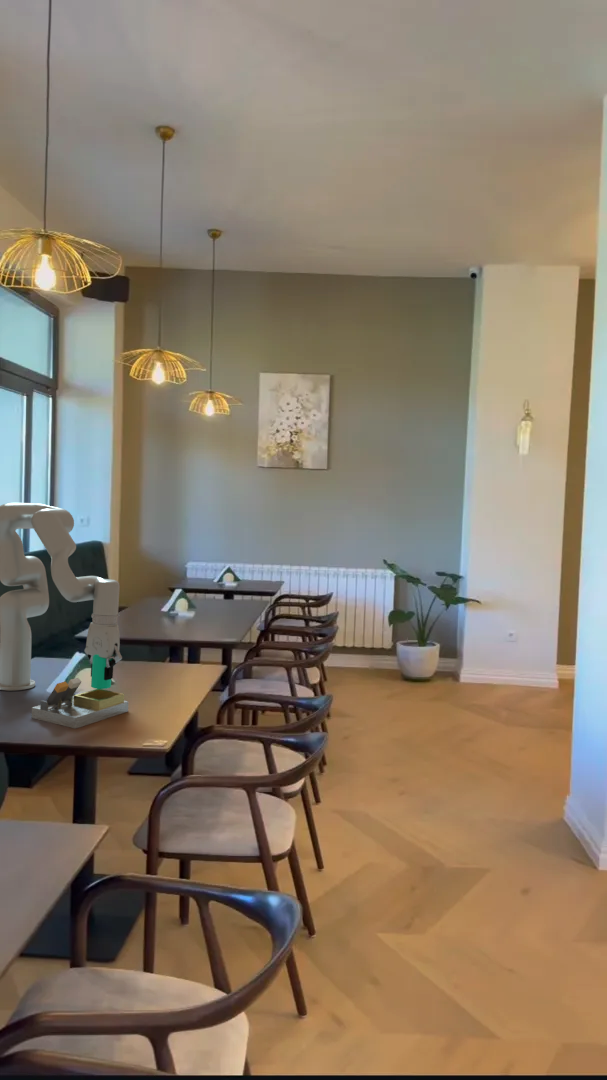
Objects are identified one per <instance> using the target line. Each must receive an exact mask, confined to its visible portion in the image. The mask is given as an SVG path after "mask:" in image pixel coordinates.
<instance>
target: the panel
mask: <svg viewBox="0 0 607 1080" xmlns="http://www.w3.org/2000/svg"><path fill="white" fill-rule="evenodd" d="M39 703H40V704H38V705H36V706H32V707H31V718H32V719H34V720H35V719H36V720H39V721H43V722H46V723H51V724H56V725H59V726H64V727H67V728H71V729H74V730H75V729H78V728H82V727H84V726H87V725H90V724H91V725H92V724H93V723H94V724H95V723H96V722H97V723H98V722H100V721H103V720H106V719H108V718H112V717H115V716H118V715H121V714H124V713H125V714H126V713H127V712H129V701H127V700H125V694H124V693H121V692H117V691H113V690H112V691H111V690H107V689H96V688H94V689H92V690H89V691H85V692H81V693H77V694H74V695H73V696H72V698H71V700H69V702H67V703H63V704H62V698H60V700H59V702H58V703H57V704H56V705H55V706H52V707H49V708H48V702H47V700H40V702H39Z"/></svg>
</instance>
